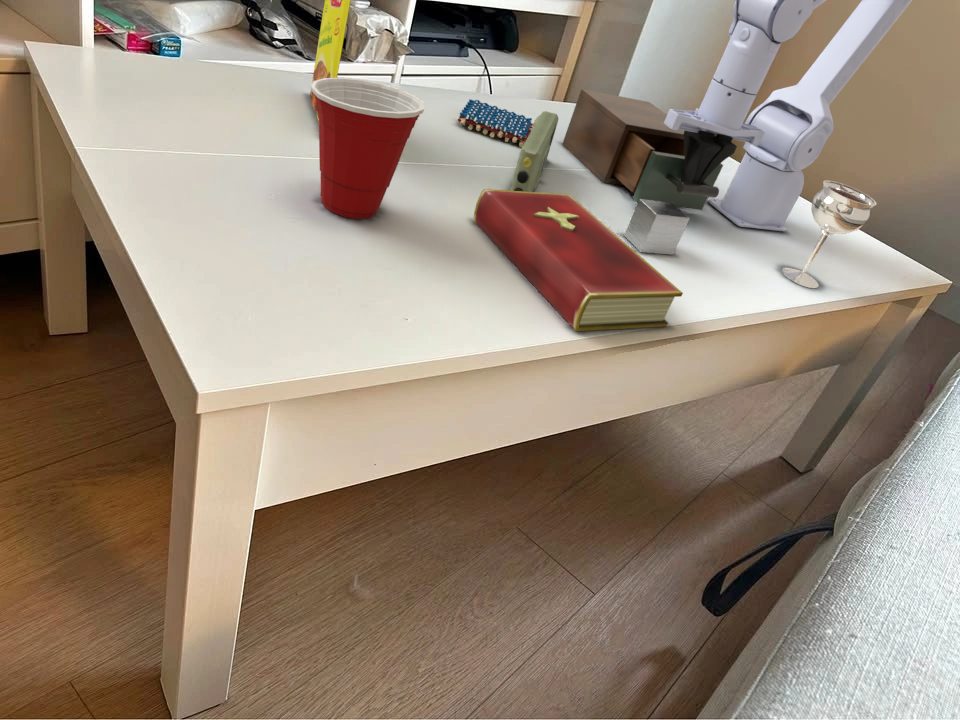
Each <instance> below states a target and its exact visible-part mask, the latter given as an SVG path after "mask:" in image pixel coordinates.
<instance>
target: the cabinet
mask: <svg viewBox="0 0 960 720" xmlns="http://www.w3.org/2000/svg"><path fill="white" fill-rule="evenodd" d="M667 114H668V113H665V112H664V111H663V110H661V109H660V108H658V107H657V106H656V105H654V104H652V102H650V101H645V100H642V99H641V100H640V99H637V98H630V97H625V96H619V95H615V94H610V93H604V92H599V91H595V90H589V89H585V88H581V89H580V92H579V95H578V98H577V100H576V103H575V106H574V109H573V112H572V114H571V118H570V121H569V123H568V126H567V129H566V132H565V134H564V137H563V140H562V143H561V144H562V145H563V146H564V147H565V148H566V149H567V151H569V152H570V153H571V154H572V155H573V156H574V157H575V158H576V159H578V160H579V162H580V163H582V164H583V165H584V166H585V167H586V168H587V169H588V170H589V171H590V172H591V173H592V174H593V175H595V177H597V178H598V179H599V180H600V181H601V183H603V184H609V185H618V186H624V187H626V186H625V185H624V184H623V183H621V182H620V181H619V180H618V179H617V178H616V177H615V176H614V175H613V174H612V172H613V169H614V167H615V164H616V162H617V159H618V157H619V154H620V152H621V149H622V147H623V144H624V142H625V139H626V136H627V134H628V130H629V131H635V132H641V133H647V134H652V135H658V136H664V137H670V138H676V139H682V140H684V131H685V130H680V129H678V130H672V129H670V128H669V127H668V126H666V125H665V124H664V121H665V119H666V117H667ZM684 141H685V140H684Z"/></svg>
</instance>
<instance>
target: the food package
mask: <svg viewBox="0 0 960 720" xmlns="http://www.w3.org/2000/svg"><path fill="white" fill-rule="evenodd" d="M351 1H352V0H324V3H323V8H322V9H323V11H322V17H321V23H320V29H319V35H318V42H317V47H316V55H315V60H314V68H313V73H312V74H313V75H312V81H311V84H312V83H313V81H316V80H320V79H323V78H338V74H339V69H340V64H341V57H342V52H343V46H344V40H345V34H346V28H347V24H348V23H347V22H348V18H349V11H350V6H351ZM309 98H310V101H311V104H312V108H313V110H314V113H315V117H316V119H317V122H318V123H319V118H318V108H317V107H316V99H315V95H314V93H313V92H312V90H311V89H310V92H309Z"/></svg>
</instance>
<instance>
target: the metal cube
mask: <svg viewBox="0 0 960 720" xmlns="http://www.w3.org/2000/svg"><path fill="white" fill-rule="evenodd" d="M690 219H691V218H690V216H688V215H687V214H686V213H685V212H684V211H682V210H681V208H679V207H676V206H675V205H674V204H673V203H669V202H661V201H653V200H645V199H639V202H638V203H637V204H636V206H635V208H634V211H633V213H632V216H631V219H630V221H629V223H628V225H627V228H626V230H625V232H624V234H623V236H624V238H626V239H627V241H629V242H630V243H631V245H633V247H635V249H636V250H638V252H639V253H646V254H647V253H648V254H659V255H672V256H673V255H674V254H675V251H676V249H677V247H678V245H679V243H680V241H681V239H682V237H683V235H684V232H685V230H686V228H687V226H688V224H689V222H690Z"/></svg>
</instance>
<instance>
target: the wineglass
mask: <svg viewBox="0 0 960 720" xmlns="http://www.w3.org/2000/svg"><path fill="white" fill-rule="evenodd" d="M877 205H878V203H877V202H876V200H875V199H874V198H872V197H871V196H870V195H868V194H866V193H864V192H863V191H861V190H859V189H857V188H854V187H853V186H849V185H847V184H844V183H841V182H839V181H833V180H823V181H822V189H821V190H819V191H817V192H816V194H814V196H813V199H812V202H811V205H810V206H811V207H810V210H811V213H812V216H813V220H814V222H815V223H816V225H818V227H819V228H820V229H819V230H820V233H821V234H820V237H819V239H818V240H817V242H816V244H815V246H814V248H813V250H812V252H811V254H810V255H809V257H808V259H807V261H806V263H805V265H804V267H803V269H802V270H799V269H796V268H791V267H783V268H781V273H782V274H783V276H785V277H786V278H787V279H789V281H792V282H793V283H795V284H798V285H800V286H803V287H804V288H805V287H806V288H809V289H818V288H819V286H820V285H819V283H818V281H817V280H815V278H813V277H812V276H811V275H810V274H808V273H806V272H807V270H808V269H809V267H810V266H811V264H812V262H813V261H814V259H815V258H816V256H817V255H818V253H819V252H820V250H821V248H822V247H823V245H824V244H825V242H826V240H827V239H828V238H829V237H832V236H834V235H847V234H850V233H853V232H856V231H858V230H859V229H860V228H862V227H863V226H864V225H865V224H866V223H867V222H868V221H869V219H870V215H871V212H870V211H871V209H873V208H874V207H875V206H877Z"/></svg>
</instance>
